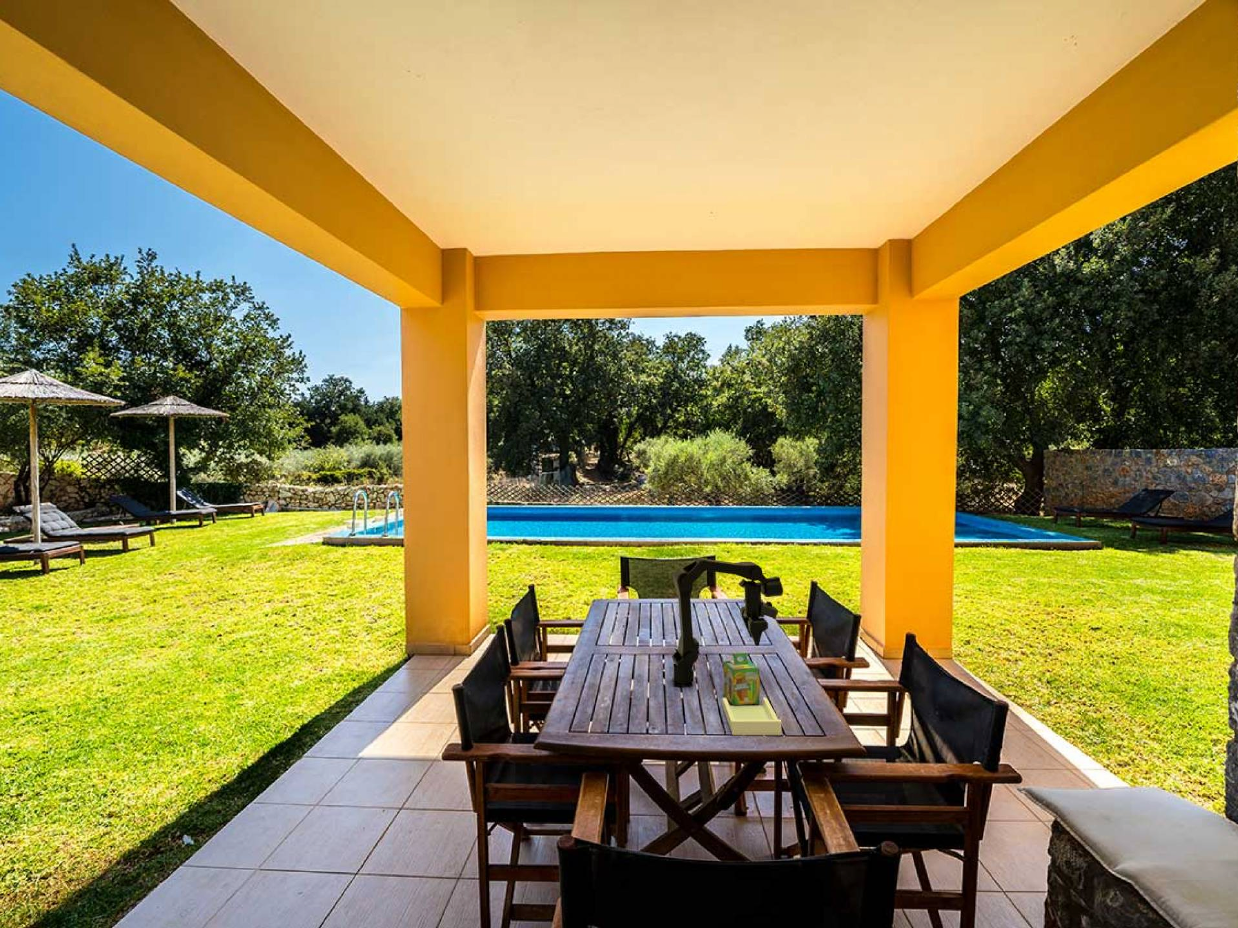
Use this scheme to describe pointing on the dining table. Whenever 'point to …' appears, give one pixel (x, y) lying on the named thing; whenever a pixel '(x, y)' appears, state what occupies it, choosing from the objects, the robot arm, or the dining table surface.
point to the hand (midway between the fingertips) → (754, 641)
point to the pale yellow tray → (752, 719)
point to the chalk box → (741, 681)
